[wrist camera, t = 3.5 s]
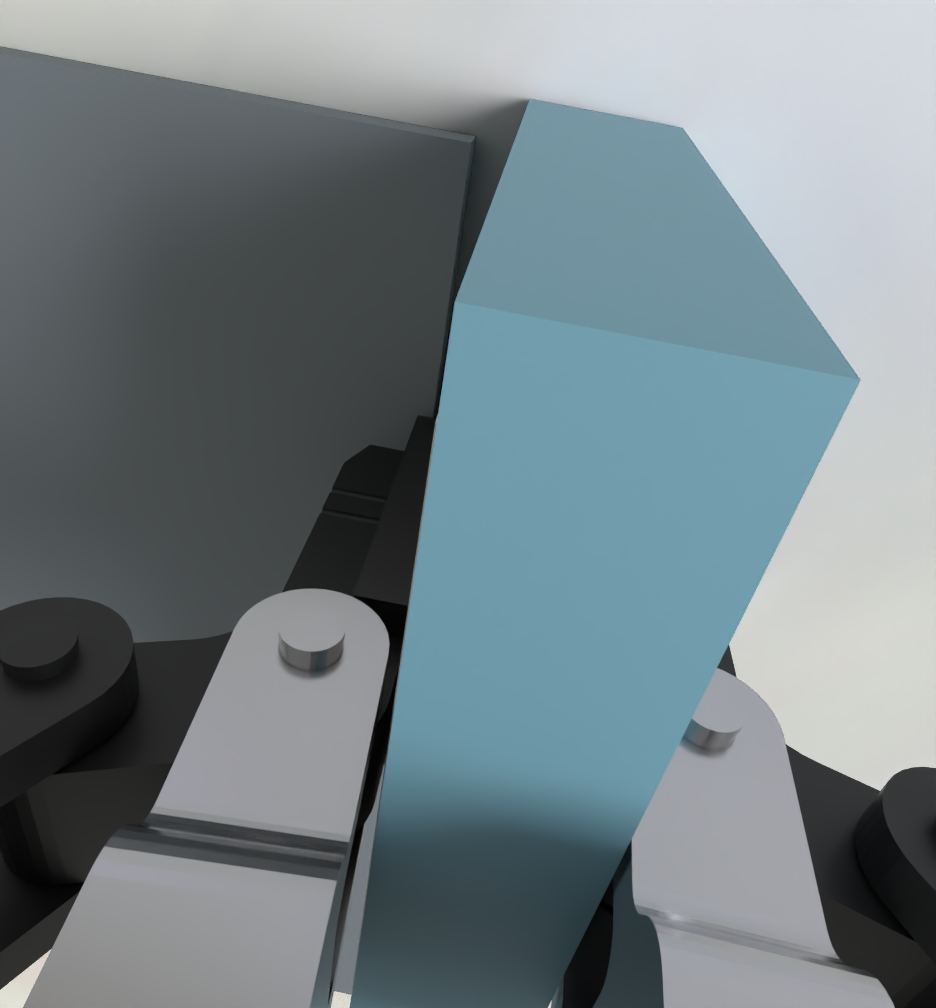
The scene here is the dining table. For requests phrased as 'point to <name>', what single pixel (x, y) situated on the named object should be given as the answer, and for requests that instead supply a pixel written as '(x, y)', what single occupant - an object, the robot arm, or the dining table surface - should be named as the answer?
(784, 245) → the dining table surface
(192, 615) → the mat
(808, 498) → the dining table surface
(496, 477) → the card box
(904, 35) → the dining table surface
